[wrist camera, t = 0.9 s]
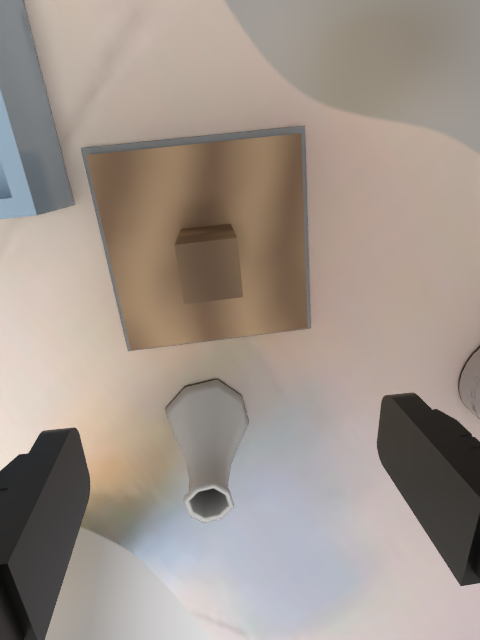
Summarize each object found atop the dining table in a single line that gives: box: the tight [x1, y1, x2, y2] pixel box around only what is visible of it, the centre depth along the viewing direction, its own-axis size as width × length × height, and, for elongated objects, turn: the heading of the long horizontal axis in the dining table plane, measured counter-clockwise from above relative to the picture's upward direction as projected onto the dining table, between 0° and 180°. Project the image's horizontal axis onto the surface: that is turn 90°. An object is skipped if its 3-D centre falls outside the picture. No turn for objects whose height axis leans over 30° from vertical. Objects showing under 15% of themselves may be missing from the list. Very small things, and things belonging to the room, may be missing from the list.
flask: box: [165, 379, 249, 523], centre depth 30 cm, size 7×7×10 cm
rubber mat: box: [81, 126, 311, 351], centre depth 28 cm, size 15×15×1 cm
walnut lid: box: [86, 133, 308, 350], centre depth 25 cm, size 14×14×7 cm
